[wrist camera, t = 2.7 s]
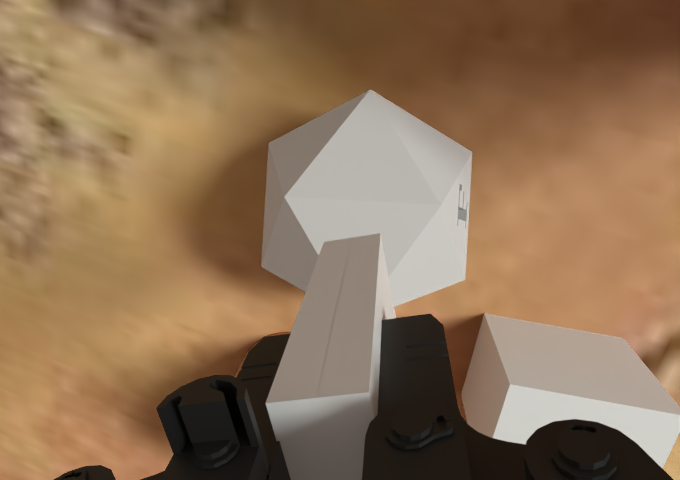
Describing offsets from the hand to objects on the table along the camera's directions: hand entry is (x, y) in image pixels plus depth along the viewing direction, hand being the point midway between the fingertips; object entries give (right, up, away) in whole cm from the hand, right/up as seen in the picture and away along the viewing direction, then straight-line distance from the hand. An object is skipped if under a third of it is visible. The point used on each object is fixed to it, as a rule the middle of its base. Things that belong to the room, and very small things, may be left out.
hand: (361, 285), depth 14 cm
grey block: (+10, -5, +13) cm, 17 cm away
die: (+1, +4, +11) cm, 11 cm away
